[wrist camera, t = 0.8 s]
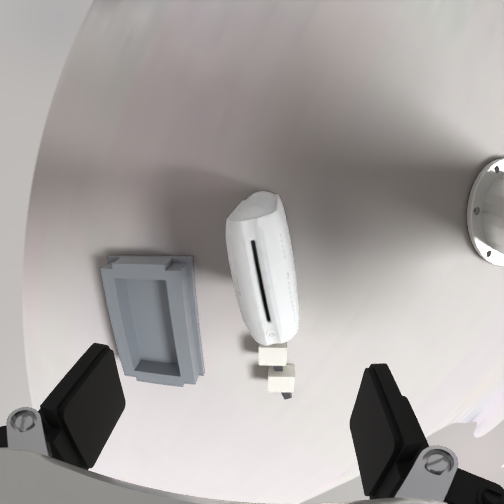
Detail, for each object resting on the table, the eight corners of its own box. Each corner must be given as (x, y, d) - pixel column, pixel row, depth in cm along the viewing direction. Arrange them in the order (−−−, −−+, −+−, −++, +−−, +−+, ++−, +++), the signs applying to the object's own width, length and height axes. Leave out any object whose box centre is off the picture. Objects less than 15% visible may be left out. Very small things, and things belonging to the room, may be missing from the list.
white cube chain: (297, 304, 33) (298, 314, 31) (292, 392, 37) (292, 405, 35) (259, 304, 34) (258, 314, 32) (260, 391, 37) (259, 404, 35)
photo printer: (298, 285, 33) (305, 353, 21) (258, 291, 34) (245, 361, 22) (281, 187, 30) (281, 205, 18) (238, 195, 31) (210, 218, 19)
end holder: (192, 255, 33) (183, 264, 30) (204, 372, 37) (199, 388, 34) (110, 254, 34) (96, 263, 31) (132, 364, 38) (123, 378, 35)
